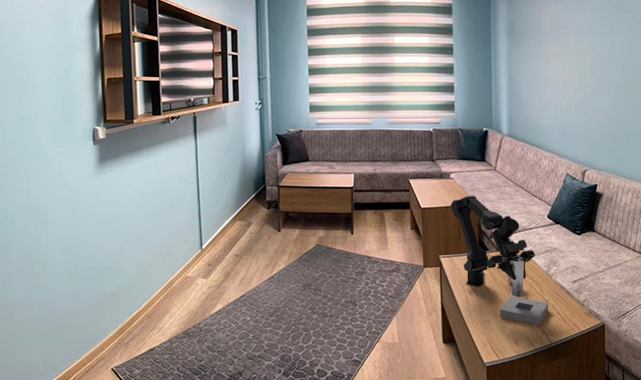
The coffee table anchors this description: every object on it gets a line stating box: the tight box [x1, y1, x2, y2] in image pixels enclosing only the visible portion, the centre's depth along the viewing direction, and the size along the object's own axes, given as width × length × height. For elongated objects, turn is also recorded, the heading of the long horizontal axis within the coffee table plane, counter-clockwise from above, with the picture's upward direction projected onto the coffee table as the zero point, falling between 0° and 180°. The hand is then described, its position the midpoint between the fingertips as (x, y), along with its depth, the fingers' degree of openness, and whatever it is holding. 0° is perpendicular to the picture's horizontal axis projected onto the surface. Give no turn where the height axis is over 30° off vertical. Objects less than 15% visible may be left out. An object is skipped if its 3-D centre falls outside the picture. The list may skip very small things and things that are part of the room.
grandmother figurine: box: [502, 261, 513, 286], centre depth 224 cm, size 8×4×13 cm, turn 71°
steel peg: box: [511, 259, 524, 298], centre depth 198 cm, size 4×4×14 cm
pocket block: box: [499, 295, 549, 326], centre depth 197 cm, size 14×14×3 cm
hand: (520, 278), depth 197 cm, fingers closed on steel peg, 4 cm apart
